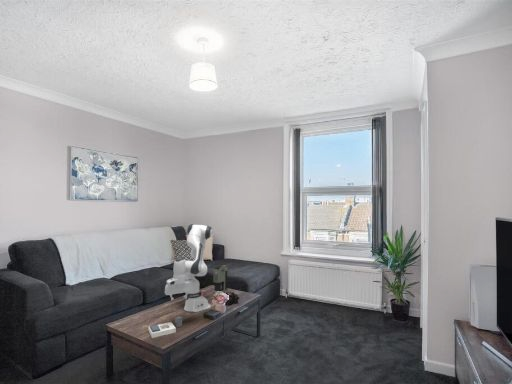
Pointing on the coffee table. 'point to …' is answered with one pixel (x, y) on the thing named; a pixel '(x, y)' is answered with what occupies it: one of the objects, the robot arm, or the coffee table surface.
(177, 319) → the rocker switch
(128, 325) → the coffee table surface
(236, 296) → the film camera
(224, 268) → the device
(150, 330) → the switch plate
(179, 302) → the coffee table surface
